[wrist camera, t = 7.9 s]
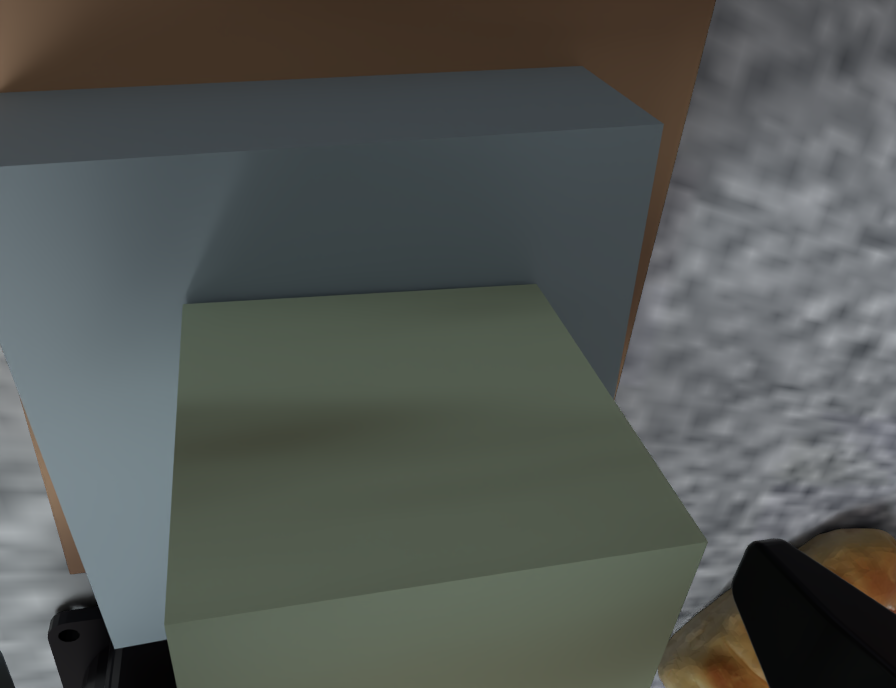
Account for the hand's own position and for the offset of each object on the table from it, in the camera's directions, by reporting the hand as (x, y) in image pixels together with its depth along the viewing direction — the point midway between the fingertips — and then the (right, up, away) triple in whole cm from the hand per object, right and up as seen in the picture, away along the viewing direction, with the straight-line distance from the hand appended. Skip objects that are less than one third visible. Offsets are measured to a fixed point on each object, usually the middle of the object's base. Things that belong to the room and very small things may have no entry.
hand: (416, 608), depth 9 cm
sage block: (-1, +2, +3) cm, 4 cm away
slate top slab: (-2, +4, +5) cm, 7 cm away
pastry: (+12, -7, +20) cm, 24 cm away
